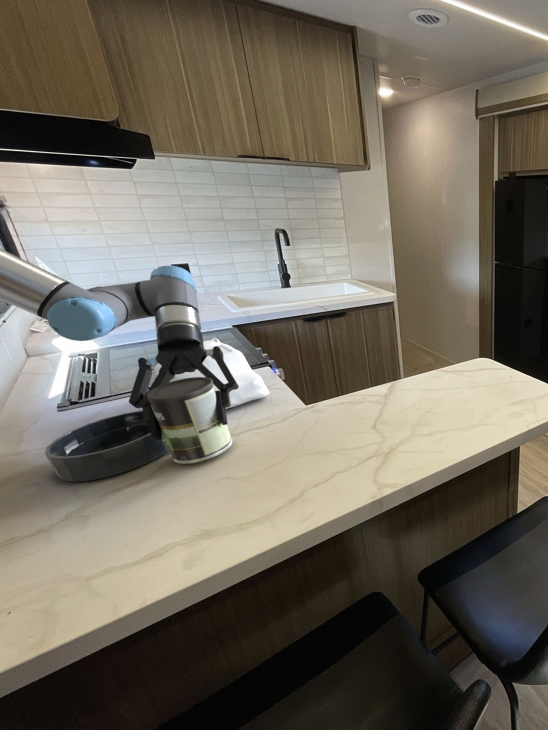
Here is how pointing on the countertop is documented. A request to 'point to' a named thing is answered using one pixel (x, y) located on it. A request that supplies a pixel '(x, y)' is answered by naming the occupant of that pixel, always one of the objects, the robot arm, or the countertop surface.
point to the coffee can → (190, 419)
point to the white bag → (239, 368)
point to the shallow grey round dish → (105, 448)
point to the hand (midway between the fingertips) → (191, 429)
